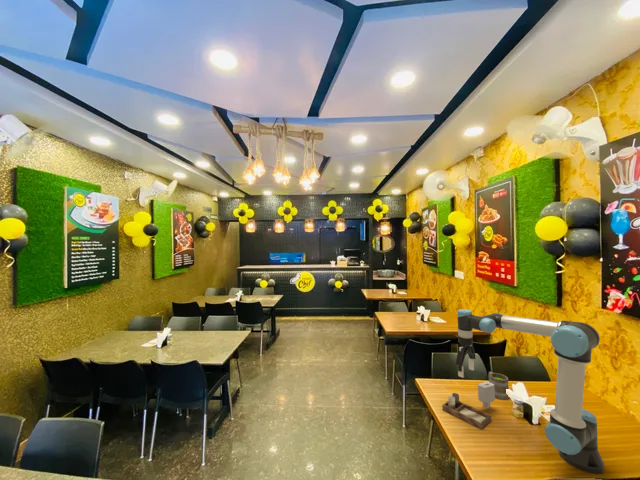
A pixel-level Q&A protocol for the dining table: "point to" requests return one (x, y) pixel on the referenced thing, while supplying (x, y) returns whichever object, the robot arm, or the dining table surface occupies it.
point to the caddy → (466, 412)
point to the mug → (499, 385)
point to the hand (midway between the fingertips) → (466, 373)
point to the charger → (486, 393)
